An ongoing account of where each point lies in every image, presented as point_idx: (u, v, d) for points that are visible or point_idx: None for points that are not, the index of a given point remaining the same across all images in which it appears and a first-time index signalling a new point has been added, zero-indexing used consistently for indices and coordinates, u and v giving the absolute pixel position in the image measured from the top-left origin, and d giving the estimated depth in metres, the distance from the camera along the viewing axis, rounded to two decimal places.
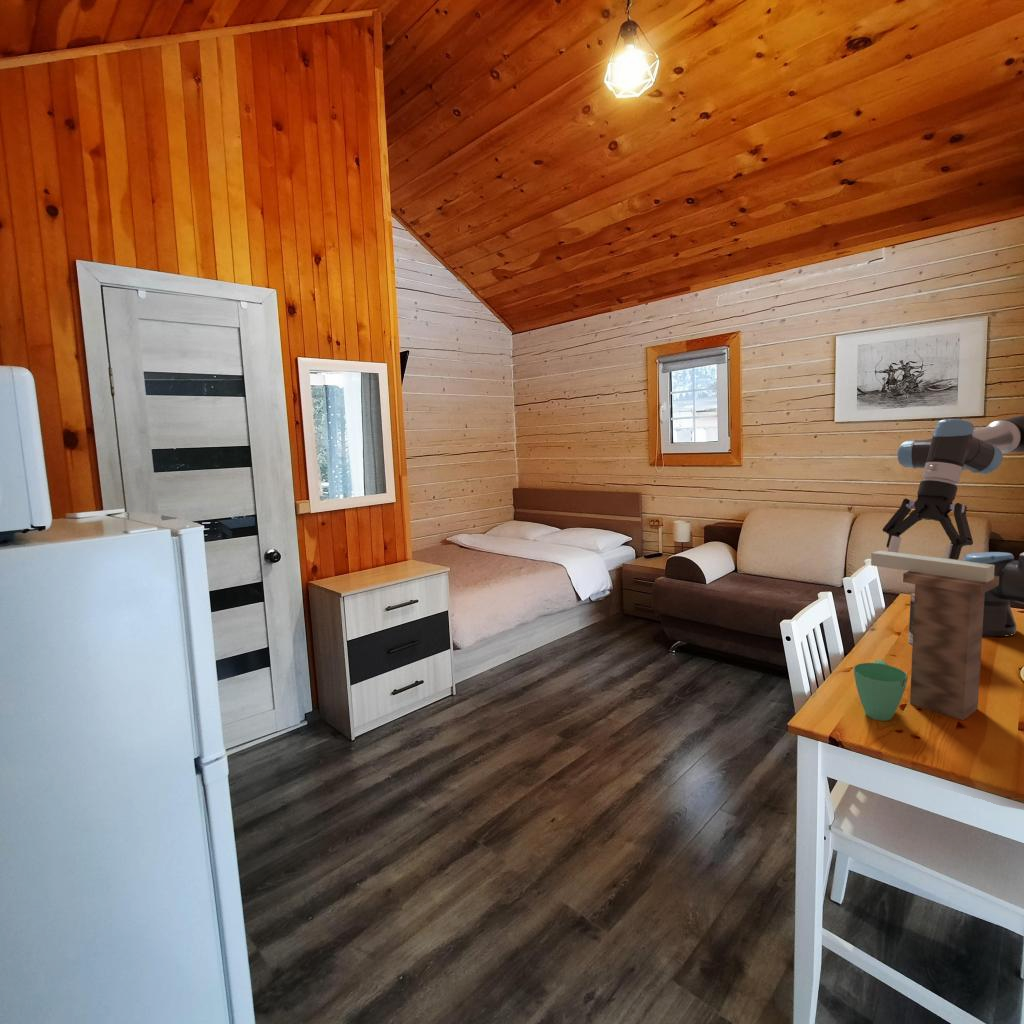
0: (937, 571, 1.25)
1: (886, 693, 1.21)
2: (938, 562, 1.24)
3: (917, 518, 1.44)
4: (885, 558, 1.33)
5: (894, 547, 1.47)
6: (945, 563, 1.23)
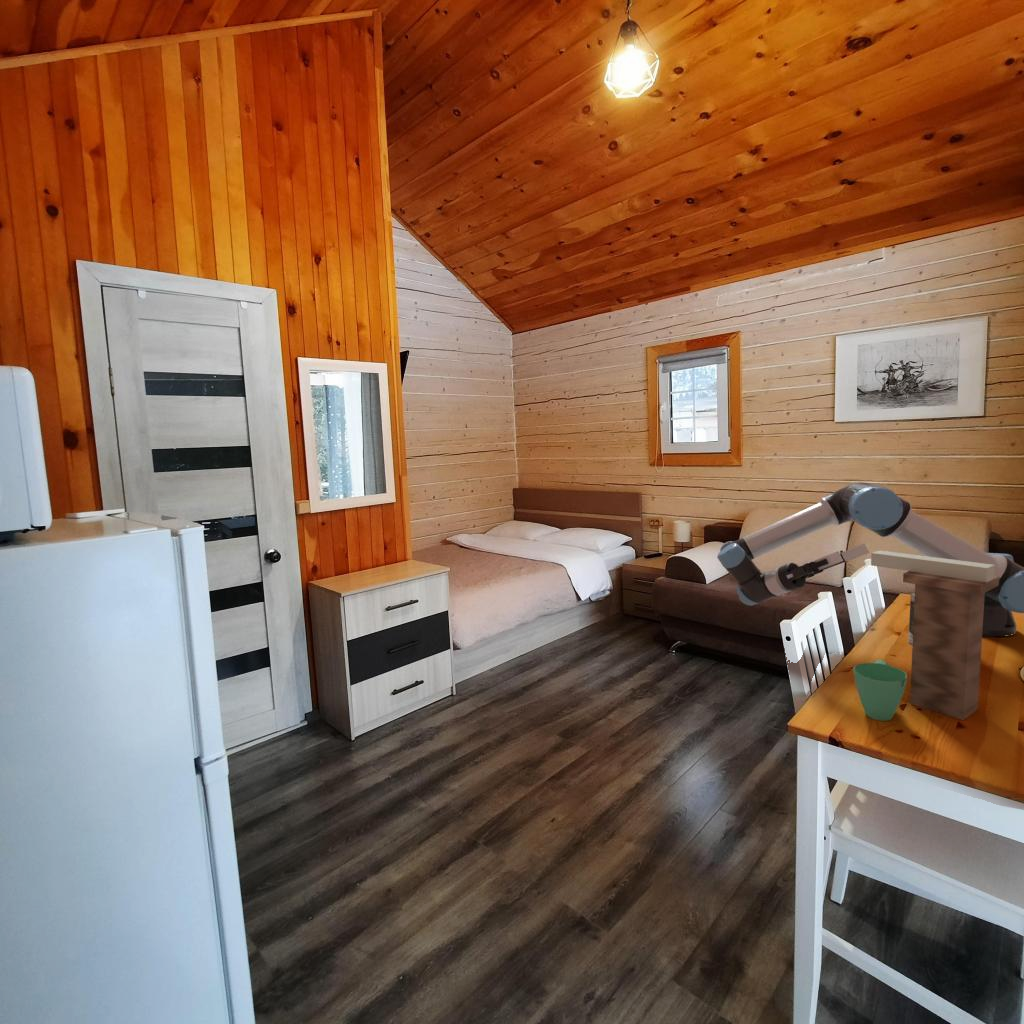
0: (937, 571, 1.25)
1: (886, 693, 1.21)
2: (938, 562, 1.24)
3: None
4: (885, 558, 1.33)
5: (853, 554, 1.57)
6: (945, 563, 1.23)
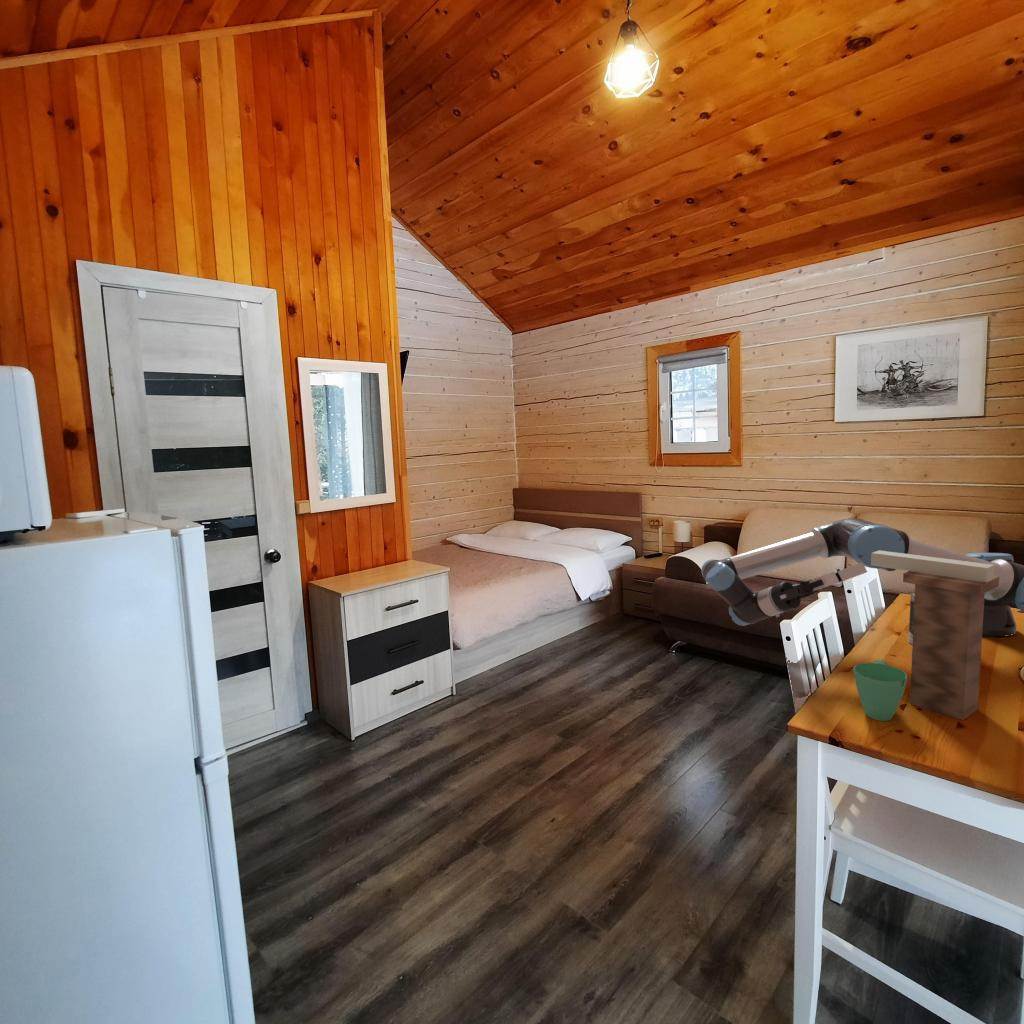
0: (937, 571, 1.25)
1: (886, 693, 1.21)
2: (938, 562, 1.24)
3: None
4: (885, 558, 1.33)
5: (850, 573, 1.48)
6: (945, 563, 1.23)
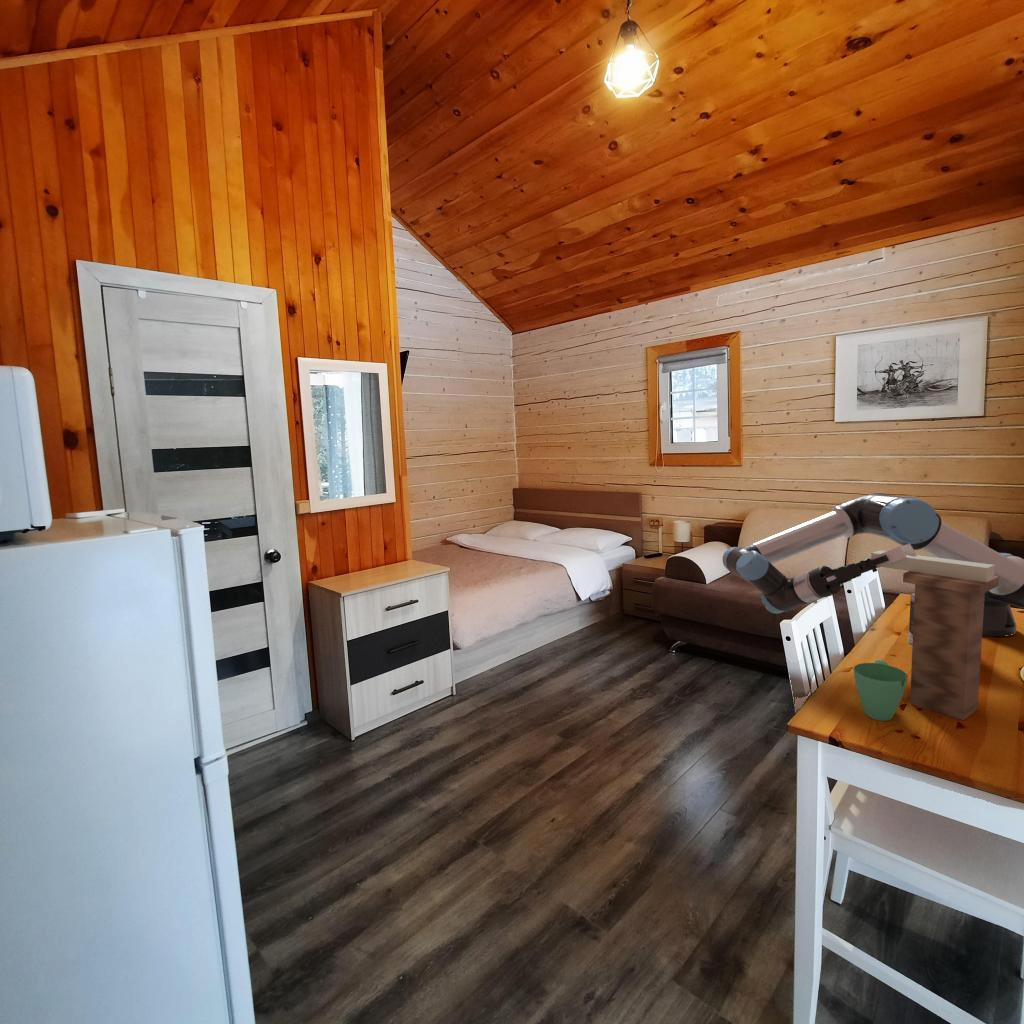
0: (937, 571, 1.25)
1: (886, 693, 1.21)
2: (938, 562, 1.24)
3: None
4: None
5: None
6: (945, 563, 1.23)
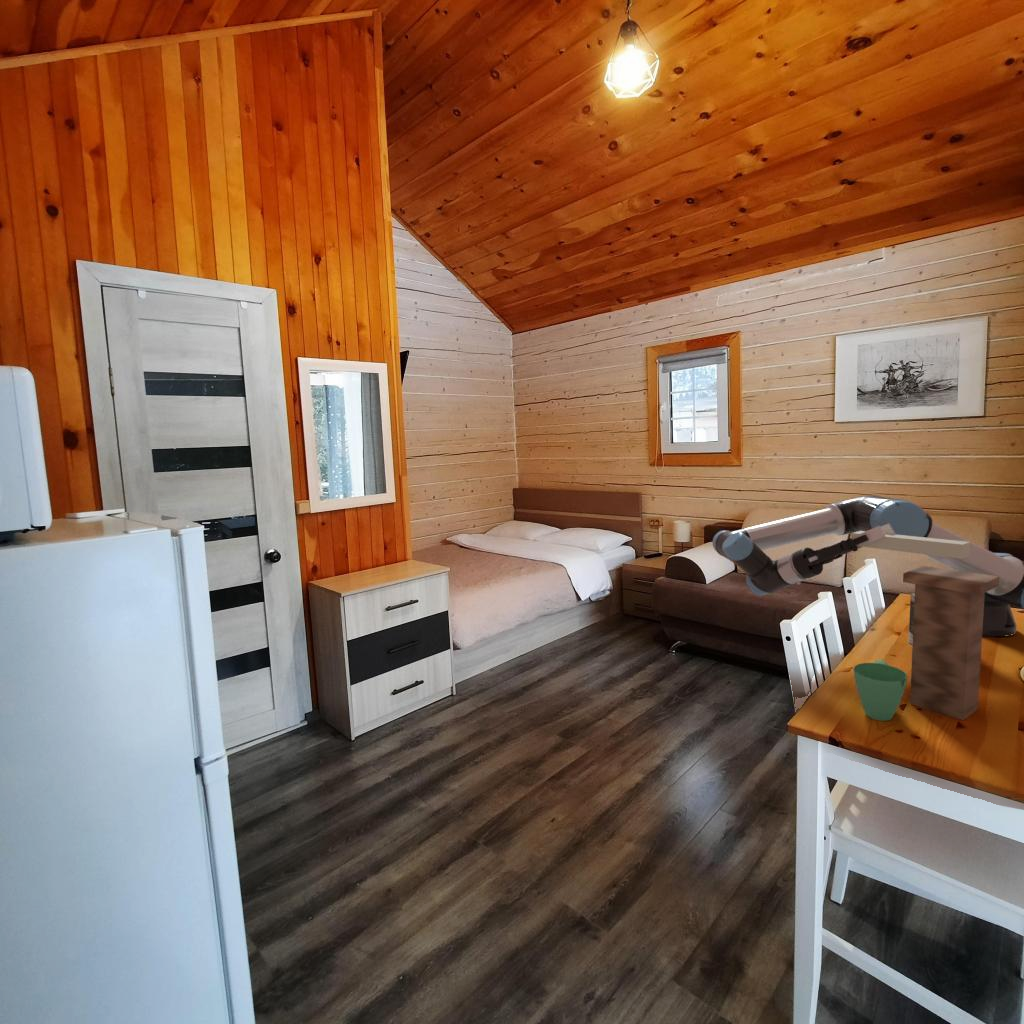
0: (914, 549, 1.27)
1: (886, 693, 1.21)
2: (916, 540, 1.27)
3: None
4: None
5: None
6: (922, 541, 1.26)
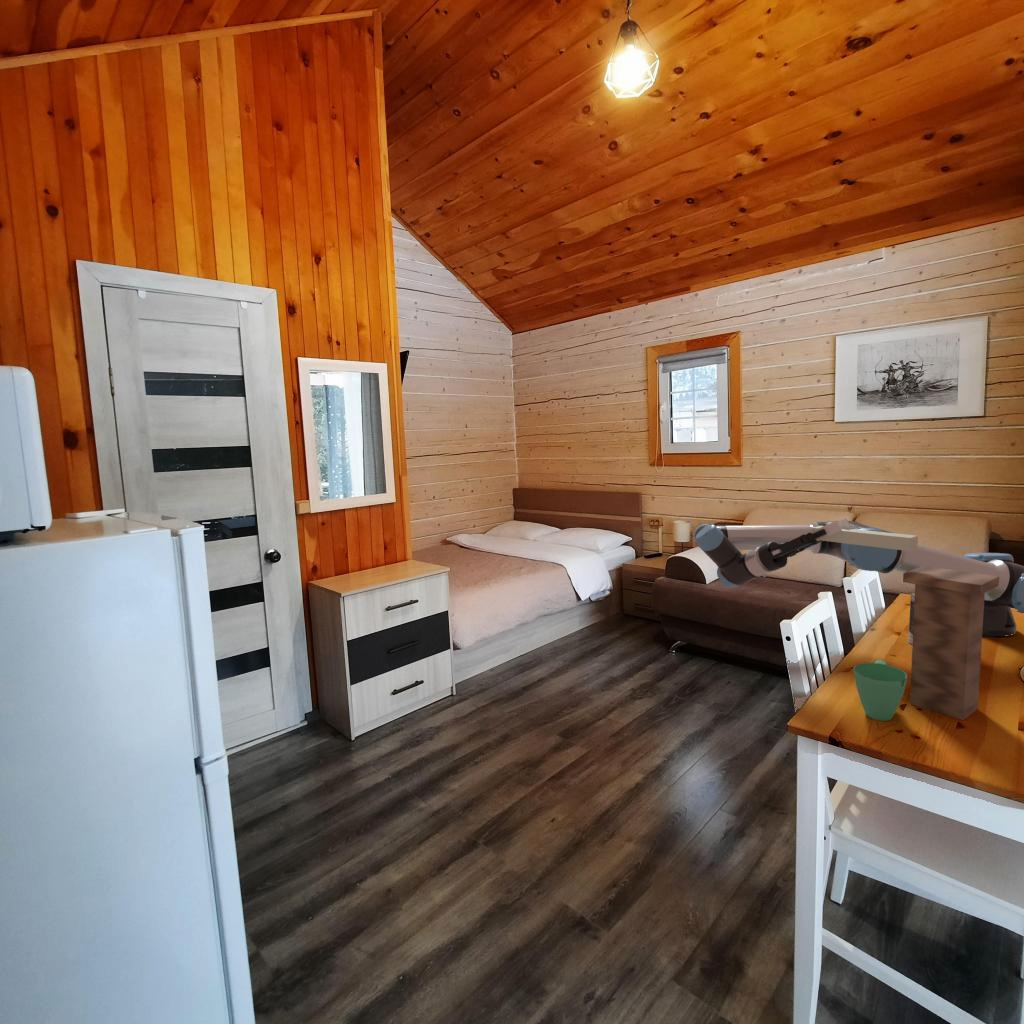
0: (867, 543, 1.36)
1: (886, 693, 1.21)
2: (868, 534, 1.35)
3: None
4: None
5: None
6: (874, 535, 1.34)
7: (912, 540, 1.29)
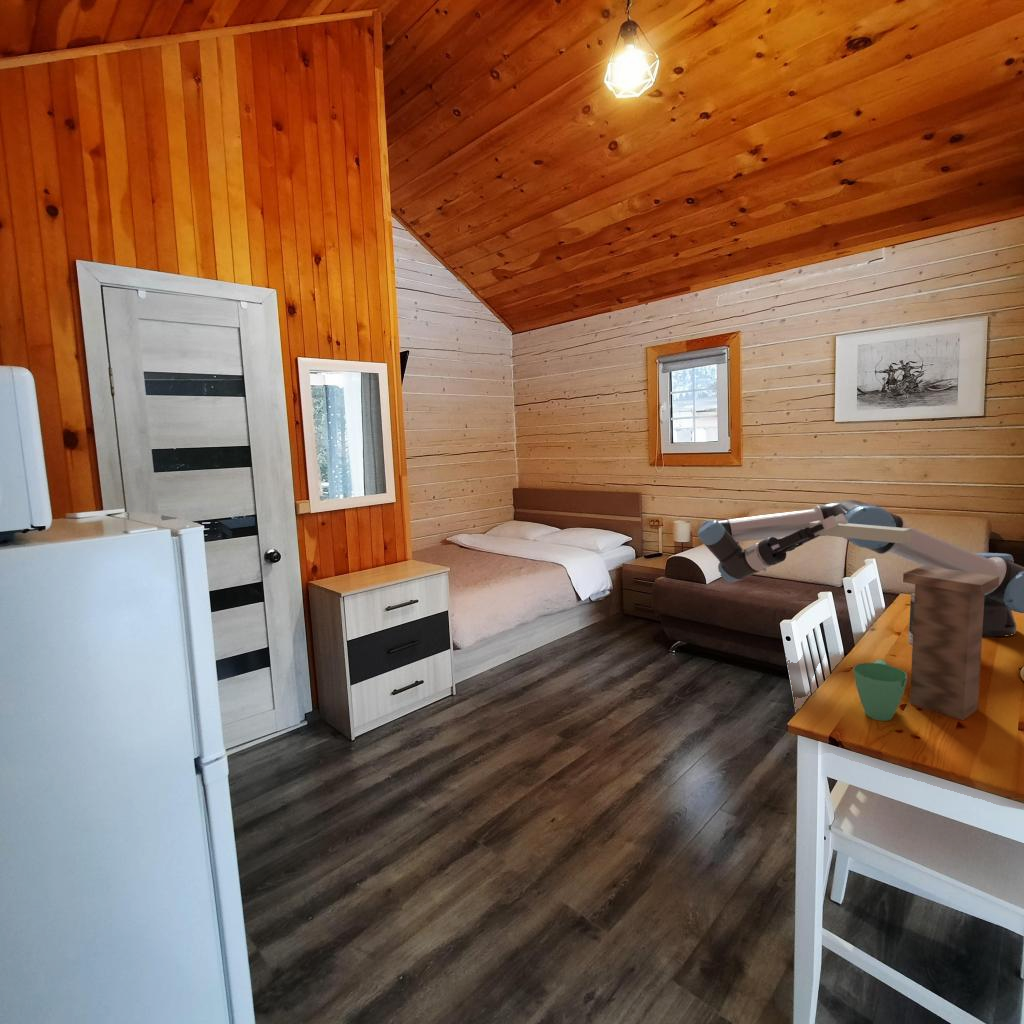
0: (863, 536, 1.41)
1: (886, 693, 1.21)
2: (864, 528, 1.40)
3: None
4: None
5: None
6: (870, 528, 1.39)
7: (906, 533, 1.34)
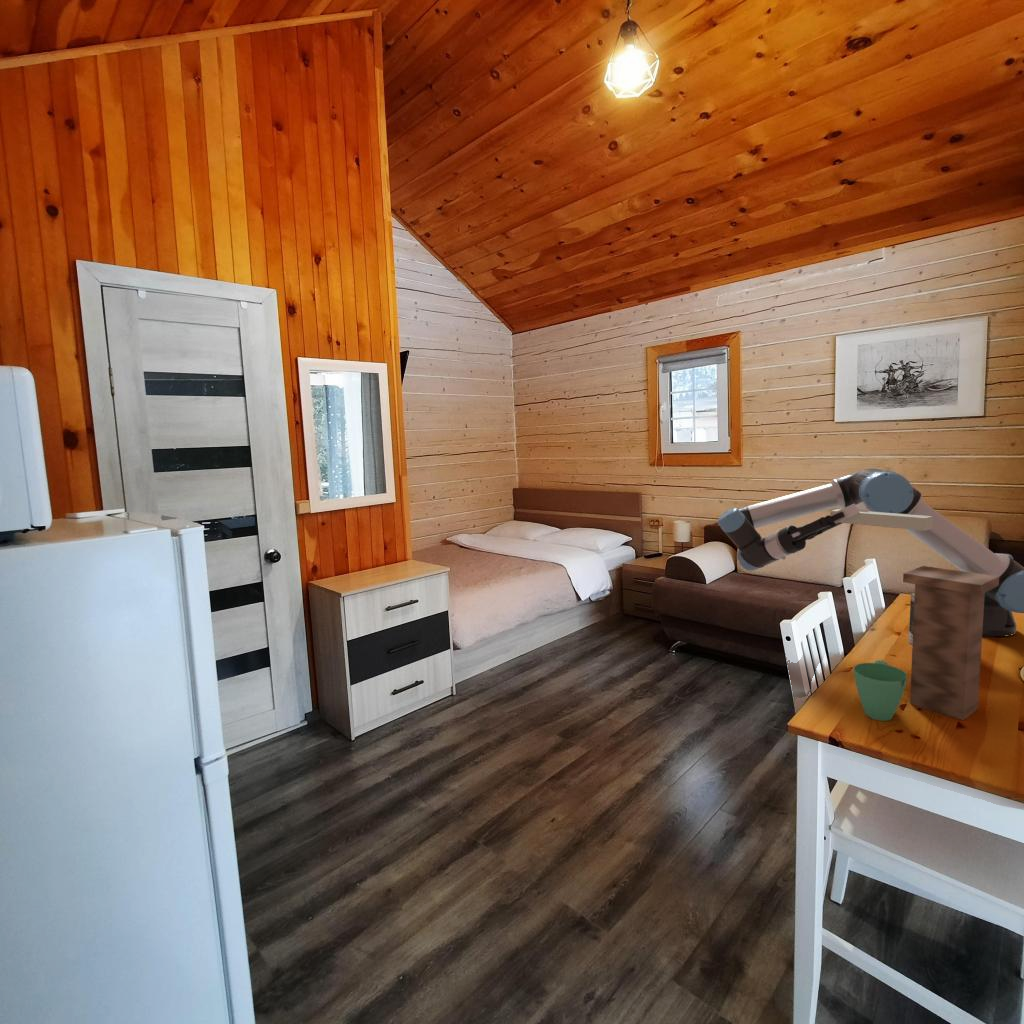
0: (884, 524, 1.43)
1: (886, 693, 1.21)
2: (885, 515, 1.42)
3: None
4: None
5: None
6: (891, 516, 1.41)
7: (927, 520, 1.36)
